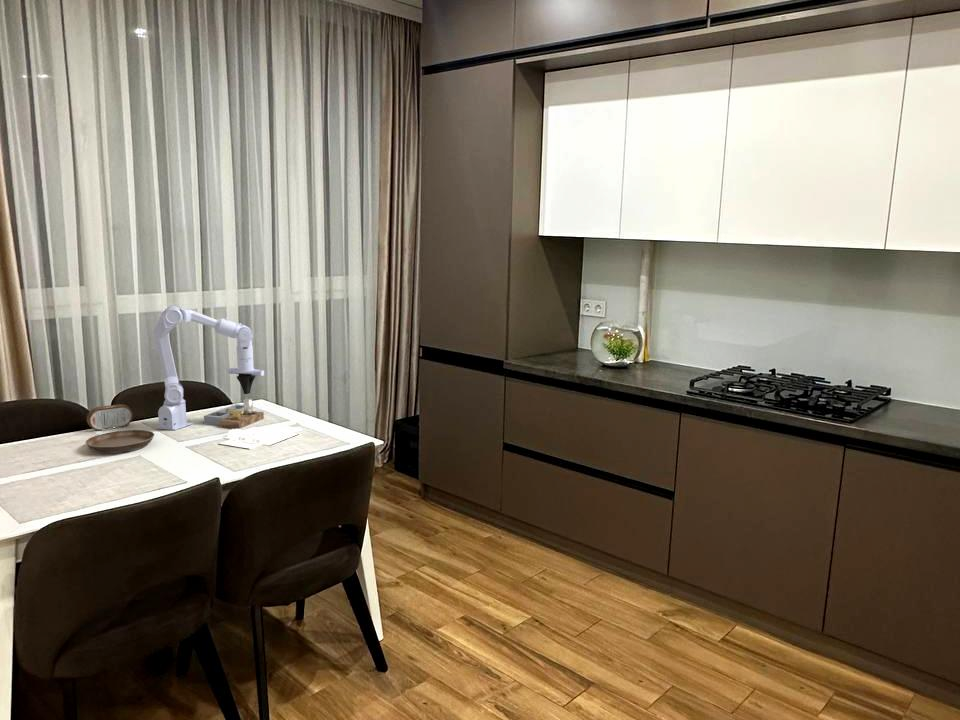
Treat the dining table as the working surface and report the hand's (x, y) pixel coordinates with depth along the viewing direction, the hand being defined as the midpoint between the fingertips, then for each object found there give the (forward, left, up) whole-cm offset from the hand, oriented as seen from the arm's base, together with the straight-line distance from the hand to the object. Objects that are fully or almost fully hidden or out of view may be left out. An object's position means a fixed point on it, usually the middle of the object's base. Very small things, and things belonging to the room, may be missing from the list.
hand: (247, 393), depth 276 cm
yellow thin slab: (-8, 0, -10) cm, 12 cm away
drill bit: (0, 0, -10) cm, 11 cm away
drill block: (-4, 0, -10) cm, 11 cm away
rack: (0, +9, -10) cm, 14 cm away
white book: (-18, -17, -11) cm, 27 cm away
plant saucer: (-43, +20, -11) cm, 48 cm away
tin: (-26, +40, -11) cm, 49 cm away
